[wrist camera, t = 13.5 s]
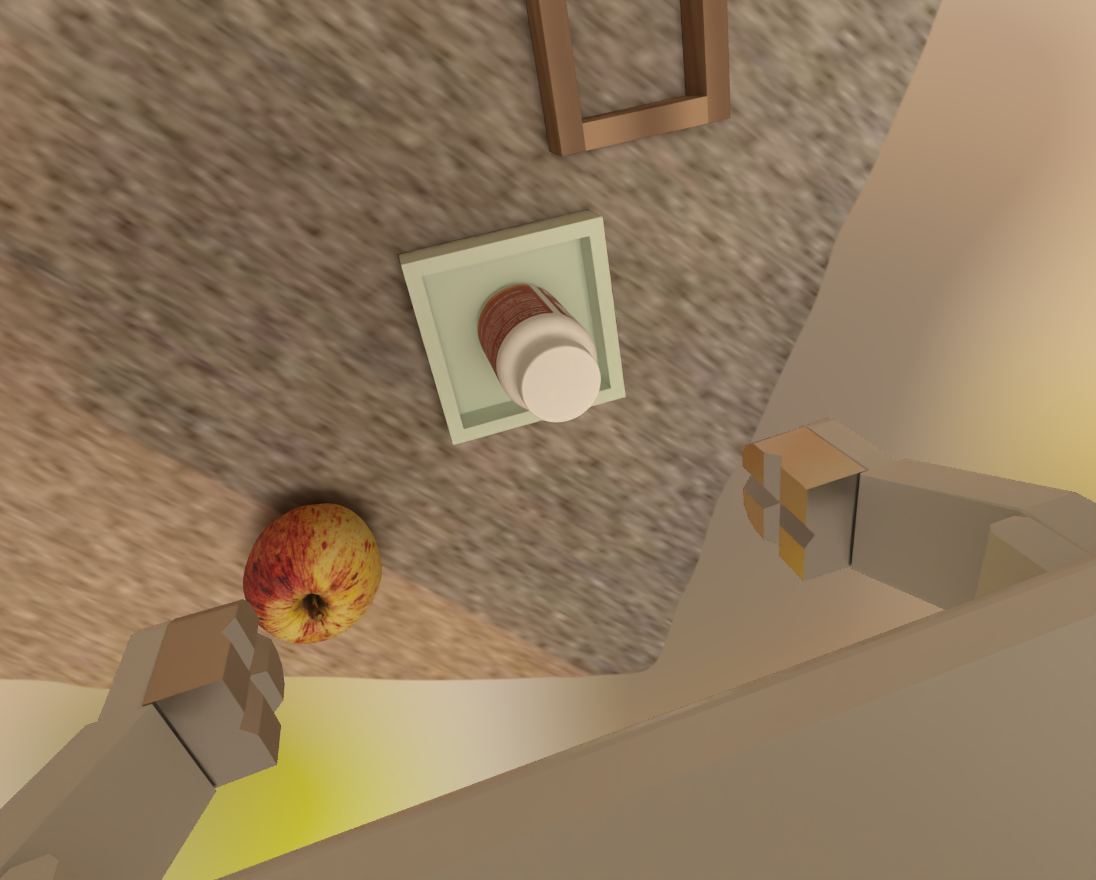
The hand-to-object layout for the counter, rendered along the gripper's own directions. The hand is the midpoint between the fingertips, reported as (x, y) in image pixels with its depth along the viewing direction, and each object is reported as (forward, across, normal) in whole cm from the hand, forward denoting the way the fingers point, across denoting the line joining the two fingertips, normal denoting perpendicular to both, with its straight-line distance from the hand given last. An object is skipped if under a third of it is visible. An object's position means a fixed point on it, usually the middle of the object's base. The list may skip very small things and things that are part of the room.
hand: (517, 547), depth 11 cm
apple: (+36, +12, +22) cm, 44 cm away
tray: (+36, -6, +10) cm, 37 cm away
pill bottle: (+35, -7, +9) cm, 37 cm away
